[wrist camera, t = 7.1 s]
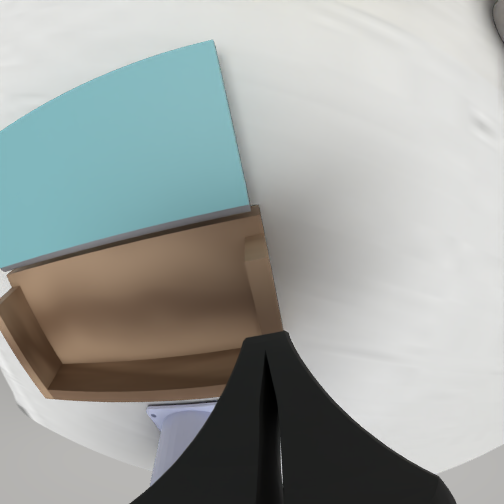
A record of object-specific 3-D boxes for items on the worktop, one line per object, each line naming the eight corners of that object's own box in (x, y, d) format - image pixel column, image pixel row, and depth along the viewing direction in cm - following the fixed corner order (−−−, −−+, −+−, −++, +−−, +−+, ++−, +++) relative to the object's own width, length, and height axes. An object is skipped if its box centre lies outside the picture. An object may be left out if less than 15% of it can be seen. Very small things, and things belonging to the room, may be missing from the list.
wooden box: (283, 332, 20) (292, 386, 16) (69, 357, 22) (45, 398, 17) (258, 204, 17) (263, 234, 12) (21, 263, 18) (-18, 295, 13)
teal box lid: (251, 214, 14) (212, 39, 11) (2, 274, 15) (-36, 158, 12) (250, 207, 16) (215, 45, 12) (11, 267, 17) (-25, 154, 13)
